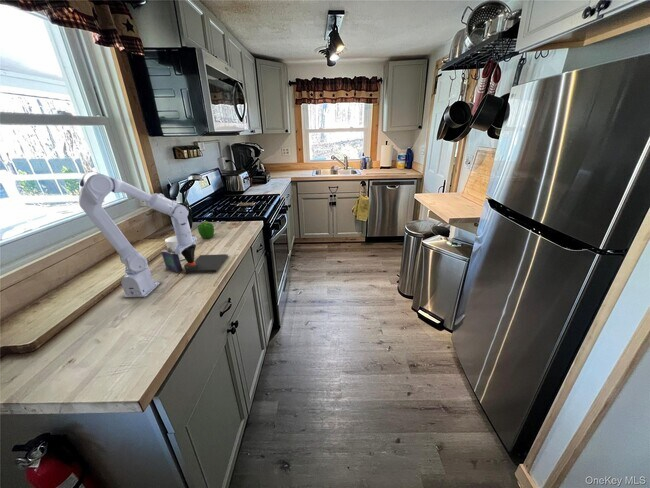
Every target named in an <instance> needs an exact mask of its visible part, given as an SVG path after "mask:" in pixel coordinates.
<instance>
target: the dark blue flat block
mask: <svg viewBox="0 0 650 488" xmlns="http://www.w3.org/2000/svg"><path fill="white" fill-rule="evenodd" d="M170 248H171V247H169V248H167V247H166V248H165V249H161V251H160V253H161V256H162V259H163V260H162V261H163V263H164V266H165V269H166V270H167V271H170V272H175V273H182V272H184V268H183V266H182V263H181V260H180V259H179V256H178V254H175V251H172V249H170Z"/></svg>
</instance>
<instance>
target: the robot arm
mask: <svg viewBox="0 0 650 488" xmlns="http://www.w3.org/2000/svg"><path fill="white" fill-rule="evenodd" d="M78 188H79V189H78V190H79V193H78V196H79V197H78V205H79V207H80V208H81V209H82V210H83V211H84V213H85V214H86V216H87V217H88V218H89V219H90V220H91V222H92V223H93V224H94V226H96V228H97V229H98V230H99V231H100V232H101V234H102V235H103V236H104V237H105V239H106V240H107V241H108V242H109V243H110V245H111V246H112V247H113V248H114V249H115V251H116V253H117V254H118V255H119V260H120V262H121V264H123V265H124V266H125V268H124V276H123V277H122V278H121V280H120V283H121V286H122V289H123V291H124V294H125V295H124V296H123V297H124V298H143V297H144V298H145V297H147V296H148V295H150V293H151V292H153V291H154V289H156V288H157V287H158V286H159V285H160V284H161V282H160V281H154V279H153V276H152V273H151V270H150V267H149V265H148V264H149V262H148V259H147V257H145V256H143V254H141V253H140V251H138V250H137V249H135V247H134V246H133V245H132V244H131V243H130V242H129V240H128V239H127V237H126V236H125V235H124V234H123V232H122V231H121V230H120V228H119V227H118V225H117V224H116V223H115V222H114V220H113V219H112V218H111V217H110V215H109V214H108V213H107V211H106V210H105V208H104V207H103V206H102V205H103V203H104V201H105V198H106V197H107V196H108V195H109V194H110V193H113V194H119V193H124V194H126V195H128V196H131V197H133V198H136V199H138V200H141V201H144V202H146V204H147V207H148V208H150V209H151V210H154V211H157V212H160V213H161V214H164V215H168V216H169V217H170V220H171V223H172V227H173V231H174V234H175V235H174V236H176V238H177V242H178V244H177V247H176V249H175V250H174V251H175V254H182V255H183V256H184V257H185V259H184V260H186V263H187V262H188V263H193V262H194V261H195V251H196V248H197V245H196V244H197V241H198V239H197V235H193V234H192V230H191V227H190V222H189V219H188V216H189V210H188V208H187V207H186V206H184V205H182V204H180V203H178V202H177V200H174V199H170V198H167V197H166V196H165V195H164V194H163V193H157V192H155V193H149V192H146V191H145V190H142V189H140V188H138V187H136V186H135V185H132V184H130V183H128V182H126V181H124V180H121V179H118V178H115V177H112V176H108V175H106V174H103V173H100V172H98V171H97V172H96V171H88V172H86V173H84V174H83V175H82V177H81V179H80V180H79V183H78Z"/></svg>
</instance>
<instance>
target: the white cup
mask: <svg viewBox="0 0 650 488" xmlns="http://www.w3.org/2000/svg"><path fill="white" fill-rule="evenodd" d="M164 243H165V246H166V248H169V247H171V248H170V249H172V251H174V250H175V249H176V247H177V244H178V242H177V238H176V235H174V236H173V235H172V236H169V237H167V238H165V239H164ZM178 256H179V259H180V261H183V260H186V259H185V257H184V256H183V255H182V254H178Z"/></svg>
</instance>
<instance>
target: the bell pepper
mask: <svg viewBox="0 0 650 488" xmlns="http://www.w3.org/2000/svg"><path fill="white" fill-rule="evenodd" d="M197 231H198V234H199V235H200V238H201V239H203V240H205V239H212V238H214V237H215V226H214V224H212V222H209V221H207V220H206V221H204V222H203V223H201V224H197Z"/></svg>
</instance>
